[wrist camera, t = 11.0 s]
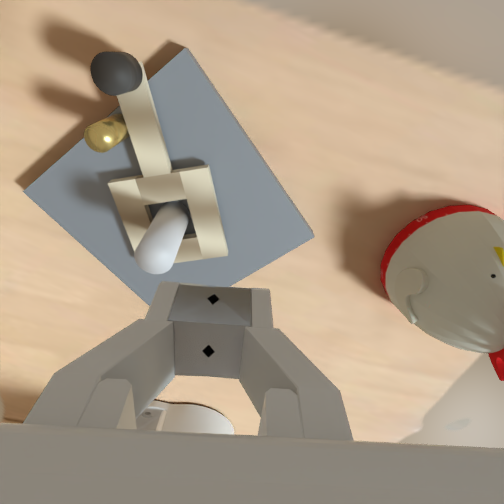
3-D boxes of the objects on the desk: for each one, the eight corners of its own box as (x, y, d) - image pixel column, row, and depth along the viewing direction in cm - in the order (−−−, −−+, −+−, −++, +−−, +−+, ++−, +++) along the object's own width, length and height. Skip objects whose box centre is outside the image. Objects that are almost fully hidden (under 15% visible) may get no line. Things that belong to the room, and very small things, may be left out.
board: (170, 314, 41) (150, 378, 33) (31, 186, 32) (-42, 230, 24) (312, 230, 35) (330, 283, 27) (187, 48, 27) (160, 45, 19)
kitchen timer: (528, 201, 34) (702, 292, 21) (486, 307, 41) (596, 424, 28) (390, 208, 34) (476, 301, 21) (372, 311, 41) (428, 429, 28)
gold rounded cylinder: (121, 142, 29) (99, 158, 25) (104, 122, 28) (78, 135, 24) (138, 128, 28) (118, 142, 24) (121, 108, 28) (97, 117, 23)
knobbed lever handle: (228, 250, 34) (225, 272, 31) (143, 262, 35) (131, 285, 31) (181, 41, 25) (170, 39, 21) (67, 63, 25) (38, 64, 22)
